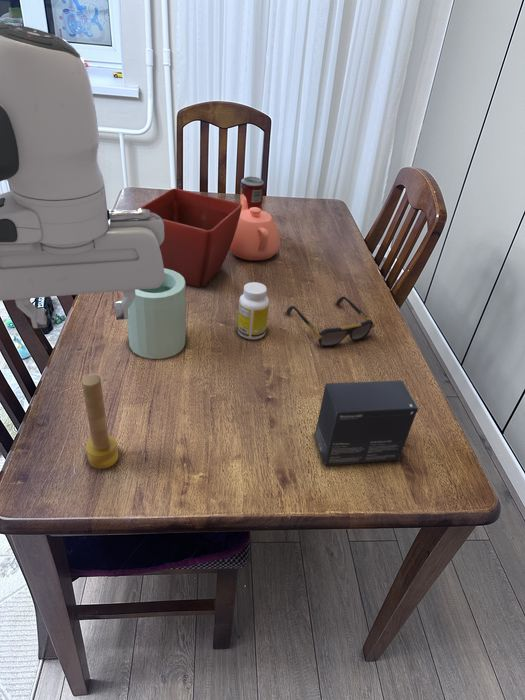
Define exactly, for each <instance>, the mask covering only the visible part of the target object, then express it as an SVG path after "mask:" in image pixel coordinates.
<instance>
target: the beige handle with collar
mask: <svg viewBox="0 0 525 700" xmlns="http://www.w3.org/2000/svg"><path fill="white" fill-rule="evenodd" d="M81 384H82V385H81V386H82V392H83V397H84V402H85V403H84V404H85V407H86V414H87V420H88V425H89V431H90V432H89V433H90V437H91V438H89V439H88V441H87V442H86V445H85V450H86V455H87V456H86V457H87V460H88V463H89V465H90V466H91V467H92V468H94V469H97V470H104V469H109V468H110V467H112V466H114V465H115V464H116V462H117V461H118V459H119V450H118V442H117V439H116V438H115V437H114V436H113V435H111V434H109V428H108V421H107V414H106V407H105V400H104V395H103V387H102V379H101V377H100V375H99V374H96V373H88V374H86V375H84V376H83V377H82V379H81Z"/></svg>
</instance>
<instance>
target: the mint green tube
mask: <svg viewBox="0 0 525 700" xmlns="http://www.w3.org/2000/svg"><path fill="white" fill-rule="evenodd" d="M164 274H165V280H164V282H163V283H162V284H161V286H160V287H158V288H151V289H139V290H135V294H136V297H135V299H134V300H133V302H132V303H131V305H130V307H129V308H128V319H126V326H127V327H126V328H127V336H128V345H129V348H130V351H132V353H134V354H136V356H139V357H141V358H144V359H150V360H162V359H167V358H170V357H174V356H176V355H177V354H179V353H180V352H181V351H182V350H183V349H184V348H185V345H186V336H187V335H186V332H187V331H186V330H187V329H186V328H187V327H186V325H187V323H186V315H187V314H186V311H187V310H186V306H187V305H186V284H185V280H184V277H183V276H182V275H180V274H179V273H177V272H175V271H173V270H170V269H166V268H164Z"/></svg>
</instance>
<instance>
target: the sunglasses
mask: <svg viewBox="0 0 525 700" xmlns="http://www.w3.org/2000/svg"><path fill="white" fill-rule="evenodd" d="M344 300H345V301H346V302H347V303H348V304H349V306H350V307H351V308H352V309H353V310H354V311H355V312H356V313H357V314H358V315H359V316H360V317H361V318H362V319H363V321H361V322H359V323H354V324H353V323H352V324H349V325H345V326H340V327H339V326H338V327H328V328H324V329H322V330H321V331H320V332H319V331H318V330H317V329H316V328H315V327H314V326H313V324H312V323H311V322H310V321H309V320H308V319H307V318H306V316H304V315H303V314H302V313H301V311H300V310H299V309H298V308H297V307H296V306H295V305H291V306H289V307H288V308H287V310H286V315H287V316H288V315H290V314H291V312H292V311H293V310H294V311H295V312H296V313H297V315H298V316H299V318H300V319H301V320H302V321H303V322H304V323H305V325H307V327H308V328H309V330H311V332H312V333H313V334H314V335H315V336H316V337H317V338H318V341H317V342H318V344H319V346H321V347H324V348H328V347H329V348H330V347H334V346H337V345H339V344H340V343H341V342H342V341H343V340H345V338H346V337H347V336H348V335H349V338H350V340H351V341H353V342H355V341H360V340H363V339H364V338H366V337H367V336H368V335H369V333H370V331H371V329H372V328H375V326H376V324H375V323H374V322H373V320H372V319H370V318H369V317H368V316H367V315H366V314H365V313H364V312H363V311H362V310H361V309H359V307H358V306H356V305H355V304H354V303H353V302H352V301H351V300H350V299H348V297H346V296H341V297H340V298H338V299H337V300H336V303H335V304H336V305H337V306H339V305H341V303H342V302H343V301H344Z"/></svg>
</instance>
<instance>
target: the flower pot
mask: <svg viewBox="0 0 525 700" xmlns="http://www.w3.org/2000/svg"><path fill="white" fill-rule="evenodd" d="M138 209H147V210H150V213H155V214H157V215H158V216H160V217H161V219H162V220H163V222H164V230H165V237H164V241H163V243H162V244H161V245H160V246H159V247H160V251H161V255H162V260H163V266H164V268H166V269H170V270H173V271H175V272H177V273H179V274H180V275H182V276H183V277H184V280H185V285H189V286H191V287H196V288H203V287H204V286H205V285H207V283H208V282H209V281H211V279H212V278H213V277H214V276H215V275H216V274H217V273H218V272H219V271H220V270H221V269H222V267H223V265H224V263H225V261H226V258H227V256H228V254H229V252H230V250H229V249H230V246H231V243H232V241H233V238H234V235H235V232H236V228H237V225H238V221H239V217H240V213H241V209H242V205H241V204H240V202H235V201H231V200H227V199H224V198H223V199H222V198H217V197H213V196H210V195H205V194H202V193H198V192H194V191H189V190H185V189H181V188H175V187H174V188H170V189H169V190H167V191H165V192H164V193H163V194H161V195H159V196H158V197H156V198H154V199H152V200H150V201H149V202H147V203H146V204H144V205H142V206H141V207H139V208H137V209H136V210H138ZM150 218H155V217H152V216H150Z"/></svg>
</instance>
